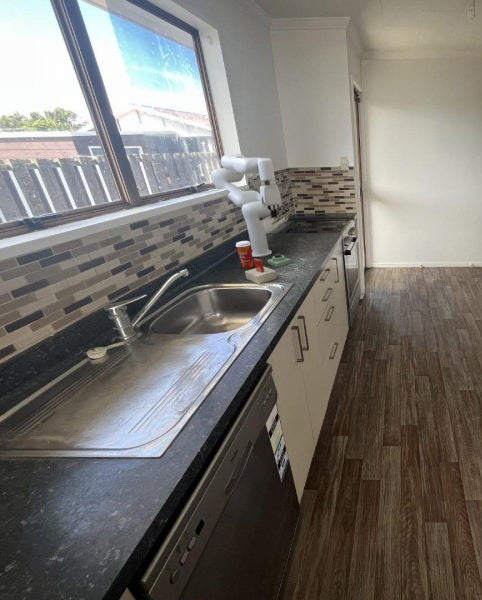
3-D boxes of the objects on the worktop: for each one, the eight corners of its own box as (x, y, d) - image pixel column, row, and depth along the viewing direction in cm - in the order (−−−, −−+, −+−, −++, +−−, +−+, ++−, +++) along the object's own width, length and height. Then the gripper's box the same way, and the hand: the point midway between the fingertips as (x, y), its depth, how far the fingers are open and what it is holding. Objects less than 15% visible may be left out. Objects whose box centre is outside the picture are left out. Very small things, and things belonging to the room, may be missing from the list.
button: (273, 257, 187) (273, 254, 187) (279, 256, 190) (278, 253, 189) (277, 258, 185) (276, 255, 185) (282, 257, 188) (282, 254, 187)
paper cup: (237, 268, 183) (231, 243, 177) (248, 263, 189) (243, 240, 183) (248, 269, 180) (242, 245, 174) (258, 265, 187) (253, 241, 181)
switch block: (267, 263, 189) (266, 257, 187) (281, 259, 195) (280, 253, 194) (277, 267, 183) (275, 260, 182) (291, 263, 189) (290, 256, 188)
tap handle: (255, 270, 167) (253, 258, 165) (258, 269, 168) (256, 257, 166) (261, 272, 164) (259, 260, 161) (264, 271, 165) (262, 259, 163)
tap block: (246, 278, 168) (244, 271, 166) (264, 273, 175) (262, 265, 173) (258, 284, 161) (257, 276, 159) (276, 278, 168) (275, 270, 166)
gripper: (277, 181, 184) (282, 214, 192) (251, 183, 174) (258, 218, 182) (284, 182, 180) (289, 216, 188) (259, 184, 170) (265, 220, 178)
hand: (274, 217), depth 185 cm, fingers closed
